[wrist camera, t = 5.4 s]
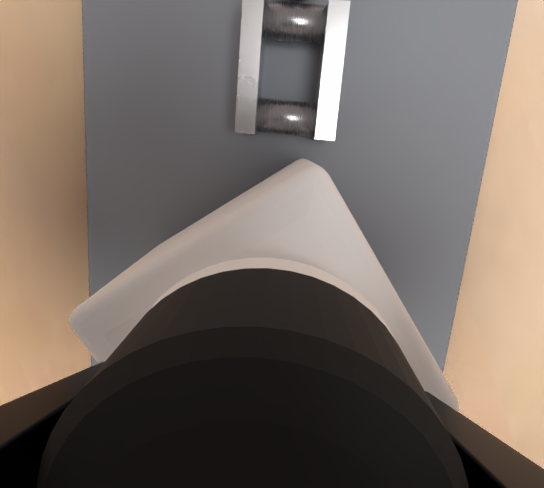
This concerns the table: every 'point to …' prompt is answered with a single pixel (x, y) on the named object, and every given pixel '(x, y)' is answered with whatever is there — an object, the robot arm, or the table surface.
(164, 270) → the medicine bottle
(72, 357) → the table surface
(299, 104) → the chain ends
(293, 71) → the rubber mat
